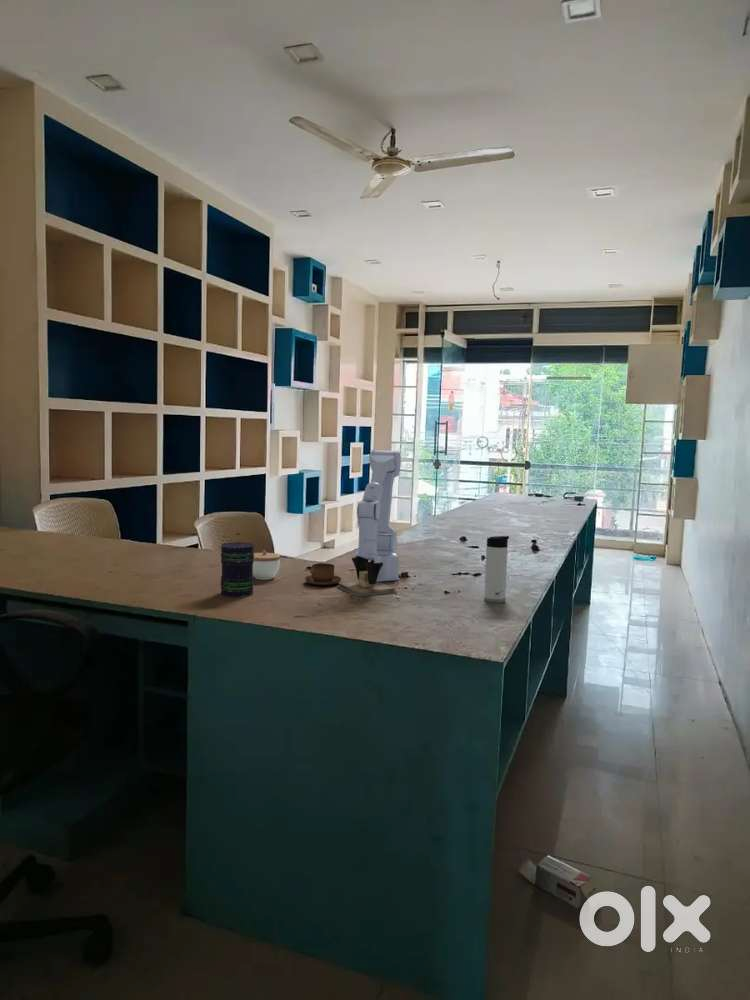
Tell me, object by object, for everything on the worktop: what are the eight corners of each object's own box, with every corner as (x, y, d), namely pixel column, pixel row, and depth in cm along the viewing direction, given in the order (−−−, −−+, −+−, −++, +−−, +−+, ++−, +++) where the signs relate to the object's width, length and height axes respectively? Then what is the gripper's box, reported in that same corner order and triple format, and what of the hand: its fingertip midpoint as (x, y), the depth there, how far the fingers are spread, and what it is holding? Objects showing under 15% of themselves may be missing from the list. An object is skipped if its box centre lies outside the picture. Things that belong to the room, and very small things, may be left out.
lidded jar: (273, 582, 225) (274, 554, 224) (242, 580, 227) (243, 552, 226) (284, 575, 235) (284, 548, 235) (254, 573, 238) (255, 547, 237)
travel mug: (501, 604, 203) (504, 537, 201) (480, 600, 207) (483, 535, 205) (509, 600, 208) (512, 535, 207) (489, 597, 212) (491, 533, 210)
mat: (375, 583, 226) (375, 582, 226) (396, 592, 214) (396, 591, 214) (337, 587, 220) (337, 585, 220) (356, 596, 208) (356, 594, 208)
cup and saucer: (298, 585, 222) (298, 566, 221) (314, 578, 233) (314, 560, 232) (332, 589, 217) (332, 570, 217) (346, 582, 229) (347, 564, 228)
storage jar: (253, 597, 203) (254, 537, 202) (219, 597, 202) (220, 537, 200) (253, 589, 213) (254, 532, 212) (221, 590, 212) (221, 532, 210)
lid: (374, 582, 226) (375, 566, 225) (394, 590, 214) (394, 574, 214) (339, 585, 220) (339, 569, 219) (357, 594, 208) (357, 577, 208)
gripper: (346, 536, 220) (345, 578, 221) (367, 543, 207) (365, 587, 209) (365, 535, 223) (364, 576, 225) (387, 542, 211) (386, 585, 212)
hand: (366, 581), depth 217 cm, fingers open, 7 cm apart
